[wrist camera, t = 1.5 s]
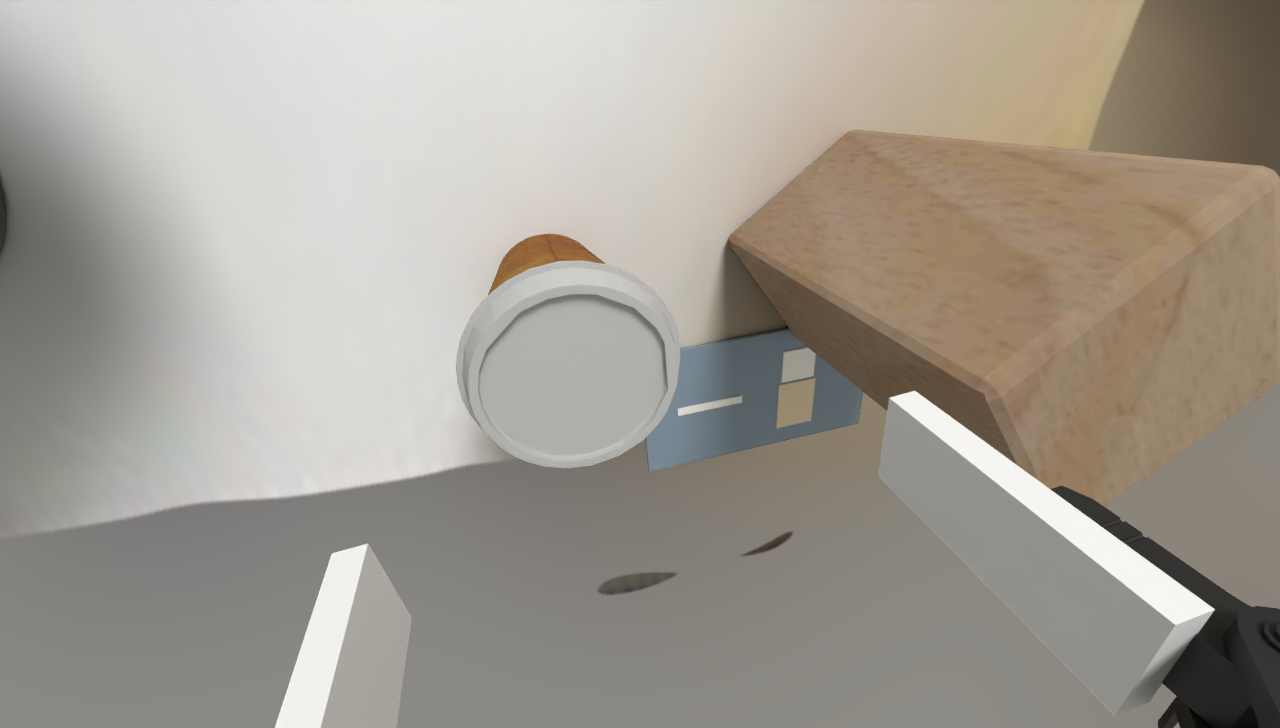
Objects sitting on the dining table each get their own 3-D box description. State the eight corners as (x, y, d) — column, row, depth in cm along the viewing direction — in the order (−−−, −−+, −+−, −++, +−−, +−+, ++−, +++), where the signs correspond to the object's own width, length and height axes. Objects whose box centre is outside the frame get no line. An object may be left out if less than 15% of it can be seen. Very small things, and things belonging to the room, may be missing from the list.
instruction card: (648, 469, 40) (649, 472, 40) (638, 356, 35) (639, 359, 35) (855, 421, 43) (858, 423, 43) (873, 311, 38) (876, 313, 38)
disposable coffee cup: (593, 371, 35) (635, 492, 25) (447, 331, 31) (425, 454, 21) (651, 239, 31) (728, 316, 21) (495, 177, 28) (498, 233, 17)
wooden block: (796, 340, 37) (1056, 549, 20) (722, 237, 32) (981, 397, 15) (909, 246, 36) (1289, 383, 19) (850, 125, 31) (1291, 159, 14)
